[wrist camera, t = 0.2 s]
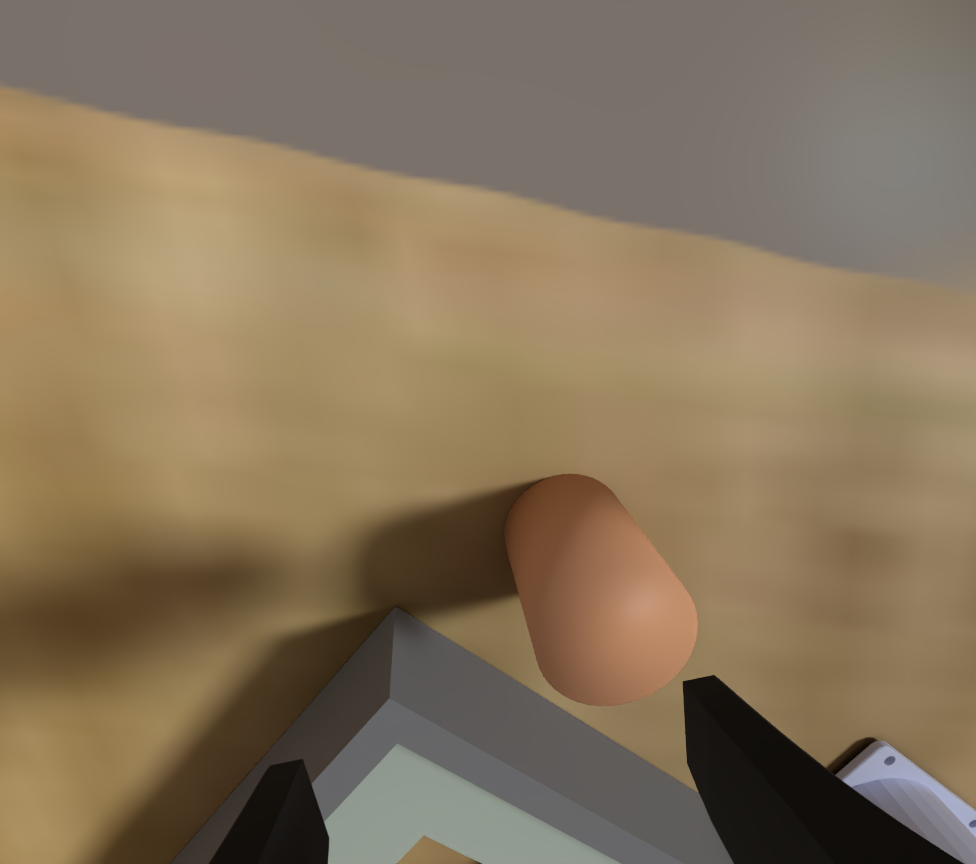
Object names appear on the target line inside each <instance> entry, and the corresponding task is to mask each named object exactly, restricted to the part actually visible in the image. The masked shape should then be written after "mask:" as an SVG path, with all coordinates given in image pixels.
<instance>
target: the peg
mask: <svg viewBox="0 0 976 864" xmlns="http://www.w3.org/2000/svg"><path fill="white" fill-rule="evenodd" d="M504 540H505V546H506V550H507V553H508V557H509V561H510V564H511V568H512V572H513V575H514V579H515V583H516V586H517V590H518V593H519V597H520V601H521V604H522V608H523V612H524V615H525V619H526V623H527V626H528V630H529V634H530V637H531V641H532V644H533V648H534V652H535V655H536V659H537V662H538V665H539V668H540V670H541V672H542V674H543V676H544V677H545V679H546V680H547V681H548V683H549V684H550V685H551V686H552V687H553V688H554V689H555V690H557V691H558V692H559V693H561V694H562V695H564V696H566V697H568V698H569V699H572V700H574V701H577V702H580V703H584V704H588V705H596V706H612V705H620V704H625V703H629V702H633V701H636V700H639V699H641V698H643V697H646V696H648V695H650V694H652V693H654V692H655V691H657V690H659V689H660V688H661V687H663V686H664V685H666V684H667V683H668V682H669V681H670V680H672V679H673V678H674V677H675V676H676V675H677V673H678V672H679V671H680V670H681V669H682V668H683V666H684V665H685V663H686V662H687V660H688V659H689V657H690V655H691V653H692V651H693V648H694V646H695V642H696V638H697V632H698V617H697V612H696V608H695V605H694V603H693V600H692V599H691V597H690V595H689V593H688V592H687V591H686V589H685V588H684V587H683V585H682V584H681V583H680V581H679V580H678V579H677V577H676V576H675V575H674V573H673V572H672V571H671V569H670V568H669V567H668V565H667V564H666V563H665V561H664V560H663V559H662V557H661V556H660V555H659V553H658V552H657V551H656V549H655V548H654V547H653V545H652V544H651V543H650V541H649V540H648V538H647V537H646V536H645V534H644V533H643V532H642V530H641V529H640V528H639V526H638V525H637V524H636V522H635V521H634V520H633V518H632V517H631V516H630V514H629V513H628V512H627V510H626V509H625V508H624V506H623V505H622V504H621V502H620V501H619V500H618V498H617V497H616V496H615V495H614V493H613V492H612V491H611V490H610V489H609V488H608V487H607V486H606V485H604V484H603V483H601V482H600V481H598V480H596V479H593V478H591V477H588V476H584V475H578V474H562V475H556V476H552V477H549V478H546V479H544V480H541V481H539V482H537V483H536V484H534V485H532V486H531V487H530V488H528V489H527V490H526V491H524V492H523V493H522V494H521V495H520V496H519V498H518V499H517V500H516V501H515V503H514V504H513V506H512V508H511V509H510V511H509V514H508V516H507V519H506V523H505V529H504Z"/></svg>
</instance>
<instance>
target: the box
mask: <svg viewBox="0 0 976 864" xmlns="http://www.w3.org/2000/svg"><path fill="white" fill-rule="evenodd" d="M299 759H303V760H304V763H305V766H306V769H307V772H308V775H309V778H310V781H311V784H312V787H313V790H314V793H315V796H316V799H317V802H318V805H319V808H320V811H321V814H322V817H323V820H324V823H325V826H326V829H327V832H328V835H329V838H330V839H329V854H328V864H396V863H397V862H398V861H399V860H400V859H401V858H402V857H403V856H404V855H405V854H406V853H407V852H408V851H409V850H410V849H411V848H412V847H413V846H414V845H415V844H416V843H417V842H418V841H419V840H420V839H421V837H422V836H423V835H425V836H427V837H429V838H431V839H433V840H435V841H437V842H439V843H441V844H443V845H445V846H447V847H449V848H451V849H453V850H455V851H457V852H459V853H461V854H463V855H465V856H467V857H469V858H472V859H474V860H476V861H478V862H480V863H482V864H734V863H733V861H732V859H731V858H730V856H729V854H728V852H727V850H726V848H725V846H724V844H723V843H722V841H721V839H720V837H719V835H718V833H717V831H716V829H715V827H714V826H713V824H712V822H711V820H710V817H709V815H708V813H707V810H706V808H705V805H704V803H703V801H702V798H701V796H700V794H699V793H697V792H696V791H694V790H692V789H691V788H689V787H687V786H686V785H684V784H683V783H681V782H679V781H678V780H676V779H675V778H673V777H671V776H670V775H668V774H666V773H665V772H663V771H662V770H660V769H658V768H657V767H655V766H653V765H652V764H650V763H649V762H647V761H645V760H644V759H642V758H641V757H639V756H637V755H636V754H634V753H632V752H631V751H629V750H628V749H626V748H624V747H623V746H621V745H619V744H618V743H616V742H615V741H613V740H611V739H610V738H608V737H607V736H605V735H603V734H602V733H600V732H598V731H597V730H595V729H594V728H592V727H590V726H589V725H587V724H585V723H584V722H582V721H581V720H579V719H577V718H576V717H574V716H573V715H571V714H569V713H568V712H566V711H564V710H563V709H561V708H560V707H558V706H556V705H555V704H553V703H551V702H550V701H548V700H547V699H545V698H543V697H542V696H540V695H539V694H537V693H535V692H534V691H532V690H530V689H529V688H527V687H526V686H524V685H522V684H521V683H519V682H517V681H516V680H514V679H513V678H511V677H509V676H508V675H506V674H505V673H503V672H501V671H500V670H498V669H496V668H495V667H493V666H492V665H490V664H488V663H487V662H485V661H483V660H482V659H480V658H479V657H477V656H475V655H474V654H472V653H471V652H469V651H467V650H466V649H464V648H462V647H461V646H459V645H458V644H456V643H454V642H453V641H451V640H449V639H448V638H446V637H445V636H443V635H441V634H440V633H438V632H437V631H435V630H433V629H432V628H430V627H428V626H427V625H425V624H424V623H422V622H420V621H419V620H417V619H415V618H414V617H412V616H411V615H409V614H407V613H406V612H404V611H403V610H401V609H399V608H398V607H396V606H395V607H394V608H393V610H392V611H391V612H390V613H389V614H388V615H387V616H386V618H385V619H384V620H383V621H382V622H381V623H380V624H379V626H378V627H377V628H376V629H375V630H374V631H373V632H372V634H371V635H370V636H369V637H368V638H367V639H366V640H365V642H364V643H363V644H362V645H361V646H360V647H359V648H358V650H357V651H356V652H355V653H354V654H353V655H352V656H351V658H350V659H349V660H348V661H347V662H346V663H345V664H344V665H343V667H342V668H341V669H340V670H339V671H338V672H337V673H336V675H335V676H334V677H333V678H332V679H331V680H330V681H329V683H328V684H327V685H326V686H325V687H324V688H323V689H322V691H321V692H320V693H319V694H318V695H317V696H316V697H315V699H314V700H313V701H312V702H311V703H310V704H309V705H308V707H307V708H306V709H305V710H304V711H303V712H302V713H301V715H300V716H299V717H298V718H297V719H296V720H295V721H294V723H293V724H292V725H291V726H290V727H289V728H288V729H287V731H286V732H285V733H284V734H283V735H282V736H281V737H280V739H279V740H278V741H277V742H276V743H275V744H274V745H273V747H272V748H271V749H270V750H269V751H268V752H267V753H266V755H265V756H264V757H263V758H262V759H261V760H260V761H259V763H258V764H257V765H256V766H255V767H254V768H253V769H252V771H251V772H250V773H249V774H248V775H247V776H246V777H245V779H244V780H243V781H242V782H241V783H240V784H239V785H238V787H237V788H236V789H235V790H234V791H233V792H232V793H231V795H230V796H229V797H228V798H227V799H226V800H225V801H224V803H223V804H222V805H221V806H220V807H219V808H218V809H217V811H216V812H215V813H214V814H213V815H212V816H211V817H210V819H209V820H208V821H207V822H206V823H205V824H204V825H203V827H202V828H201V829H200V830H199V831H198V832H197V833H196V835H195V836H194V837H193V838H192V839H191V840H190V841H189V843H188V844H187V845H186V846H185V847H184V848H183V849H182V850H181V852H180V853H179V854H178V855H177V856H176V857H175V858H174V860H173V861H172V862H171V863H170V864H208V863H209V862H210V860H211V859H212V857H213V856H214V854H215V852H216V851H217V849H218V848H219V846H220V845H221V843H222V841H223V840H224V838H225V837H226V835H227V833H228V832H229V830H230V828H231V827H232V825H233V824H234V822H235V820H236V819H237V817H238V815H239V814H240V812H241V811H242V809H243V807H244V806H245V804H246V802H247V801H248V799H249V797H250V796H251V794H252V792H253V791H254V789H255V787H256V786H257V784H258V783H259V781H260V779H261V778H262V776H263V774H264V773H265V771H266V770H267V769H268V767H269V766H270V765H274V764H279V763H284V762H289V761H294V760H299Z"/></svg>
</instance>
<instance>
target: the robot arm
mask: <svg viewBox="0 0 976 864" xmlns="http://www.w3.org/2000/svg"><path fill="white" fill-rule="evenodd" d="M683 696H684V715H685V734H686V752H687V764H688V767H689V769H690V771H691V774H692V776H693V779H694V781H695V784H696V786H697V789H698V791H699V794H700V796H701V798H702V801H703V803H704V805H705V808H706V810H707V813H708V815H709V817H710V820H711V822H712V824H713V826H714V827H715V829H716V831H717V833H718V835H719V837H720V839H721V841H722V843H723V844H724V846H725V848H726V850H727V852H728V854H729V856H730V858H731V859H732V861H733V863H734V864H976V810H975V809H974V808H972V807H971V806H970V805H968V804H967V803H966V802H964V801H963V800H962V799H960V798H959V797H958V796H956V795H955V794H954V793H953V792H951V791H950V790H949V789H947V788H946V787H945V786H943V785H942V784H941V783H939V782H938V781H937V780H935V779H934V778H933V777H931V776H930V775H929V774H927V773H926V772H925V771H924V770H922V769H921V768H920V767H918V766H917V765H916V764H914V763H913V762H912V761H910V760H909V759H908V758H906V757H905V756H904V755H902V754H901V753H900V752H898V751H897V750H896V749H895V748H893V747H892V746H891V745H889V744H888V743H887V742H885V741H875V742H873V743H872V744H870V745H869V746H868V747H867V748H866V749H865V750H863V751H862V752H861V753H860V754H859V755H858V756H856V757H855V758H854V759H853V760H852V761H851V762H850V763H848V764H847V765H846V766H845V767H844V768H843V769H842V770H840V771H839V772H838V773H837V774H836V775H834V774H833V773H832V772H830V771H829V770H828V769H826V768H825V767H824V766H823V765H821V764H820V763H819V762H818V761H816V760H815V759H814V758H813V757H811V756H810V755H809V754H808V753H806V752H805V751H804V750H802V749H801V748H800V747H799V746H797V745H796V744H795V743H794V742H792V741H791V740H790V739H789V738H788V737H786V736H785V735H784V734H783V733H781V732H780V731H779V730H778V729H777V728H775V727H774V726H773V725H772V724H771V723H770V722H768V721H767V720H766V719H765V718H764V717H762V716H761V715H760V714H759V713H758V712H757V711H755V710H754V709H753V708H752V707H751V706H750V705H748V704H747V703H746V702H745V701H744V700H743V699H742V698H740V697H739V696H738V695H737V694H736V693H735V692H734V691H732V690H731V689H730V688H729V687H728V686H727V685H726V684H724V683H723V682H722V681H721V680H720V679H719V678H717V677H716V676H714V675H712V676H707V677H702V678H697V679H692V680H688V681H683ZM329 839H330V838H329V835H328V832H327V829H326V826H325V823H324V820H323V817H322V814H321V811H320V808H319V805H318V802H317V799H316V796H315V793H314V790H313V787H312V784H311V781H310V778H309V775H308V772H307V769H306V766H305V763H304V760H303V759H299V760H294V761H289V762H284V763H279V764H274V765H270V766H269V767H268V769H267V770H266V771H265V773H264V774H263V776H262V778H261V779H260V781H259V783H258V784H257V786H256V787H255V789H254V791H253V792H252V794H251V796H250V797H249V799H248V801H247V802H246V804H245V806H244V807H243V809H242V811H241V812H240V814H239V815H238V817H237V819H236V820H235V822H234V824H233V825H232V827H231V828H230V830H229V832H228V833H227V835H226V837H225V838H224V840H223V841H222V843H221V845H220V846H219V848H218V849H217V851H216V852H215V854H214V856H213V857H212V859H211V860H210V862H209V863H208V864H328V854H329Z"/></svg>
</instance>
